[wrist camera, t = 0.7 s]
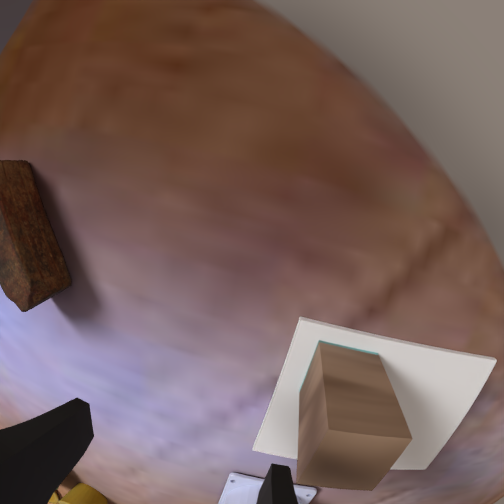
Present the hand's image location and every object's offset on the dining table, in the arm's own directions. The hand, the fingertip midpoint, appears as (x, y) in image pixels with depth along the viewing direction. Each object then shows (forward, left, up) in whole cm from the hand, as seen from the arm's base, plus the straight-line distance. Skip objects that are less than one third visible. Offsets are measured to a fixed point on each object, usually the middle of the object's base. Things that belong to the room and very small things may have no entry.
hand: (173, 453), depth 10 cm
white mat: (-3, -12, -10) cm, 16 cm away
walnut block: (0, -8, -10) cm, 12 cm away
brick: (+3, +17, -11) cm, 20 cm away
